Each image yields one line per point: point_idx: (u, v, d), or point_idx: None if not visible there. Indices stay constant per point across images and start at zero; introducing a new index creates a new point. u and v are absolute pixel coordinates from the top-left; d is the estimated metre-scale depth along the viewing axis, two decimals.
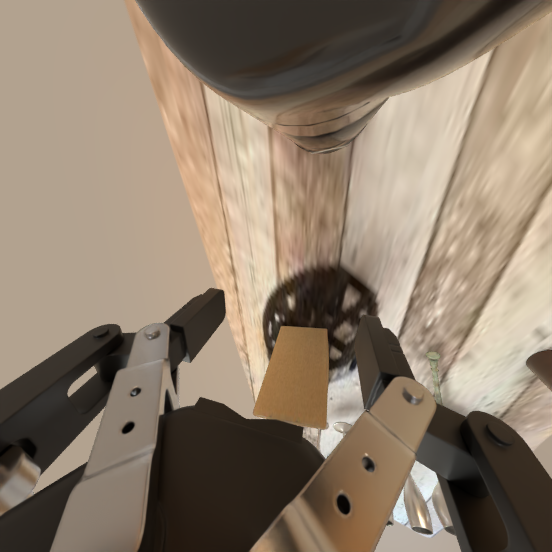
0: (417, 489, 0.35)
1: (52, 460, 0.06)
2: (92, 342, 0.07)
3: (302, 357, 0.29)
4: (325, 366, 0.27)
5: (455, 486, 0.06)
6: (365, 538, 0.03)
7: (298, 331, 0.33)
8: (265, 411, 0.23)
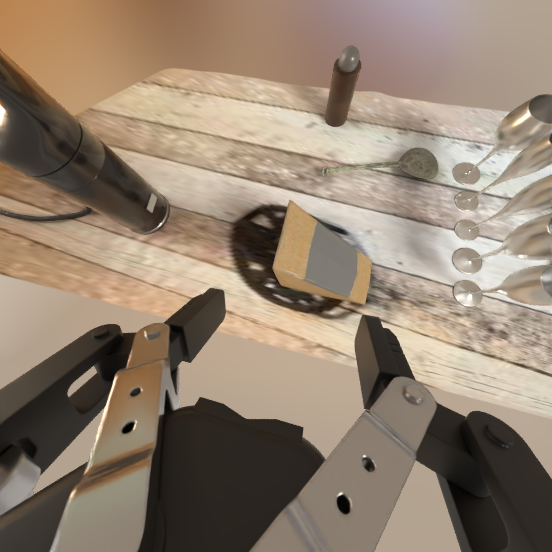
0: (510, 163, 0.28)
1: (52, 460, 0.06)
2: (91, 342, 0.07)
3: None
4: None
5: (455, 486, 0.06)
6: (365, 538, 0.03)
7: None
8: None
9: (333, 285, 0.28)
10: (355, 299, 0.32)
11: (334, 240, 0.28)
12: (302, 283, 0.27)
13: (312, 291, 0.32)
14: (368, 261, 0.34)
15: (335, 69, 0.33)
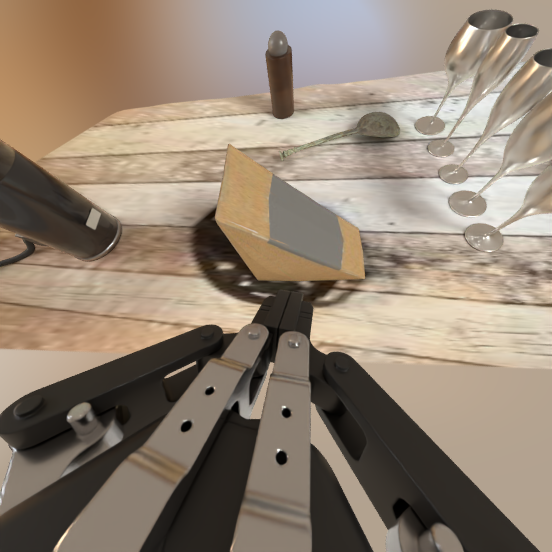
0: (473, 83, 0.25)
1: (138, 429, 0.07)
2: (197, 339, 0.08)
3: None
4: None
5: (332, 417, 0.07)
6: (302, 465, 0.04)
7: None
8: None
9: (314, 252, 0.21)
10: (350, 271, 0.25)
11: (302, 199, 0.23)
12: (273, 254, 0.21)
13: (295, 273, 0.26)
14: (354, 228, 0.29)
15: (267, 56, 0.33)
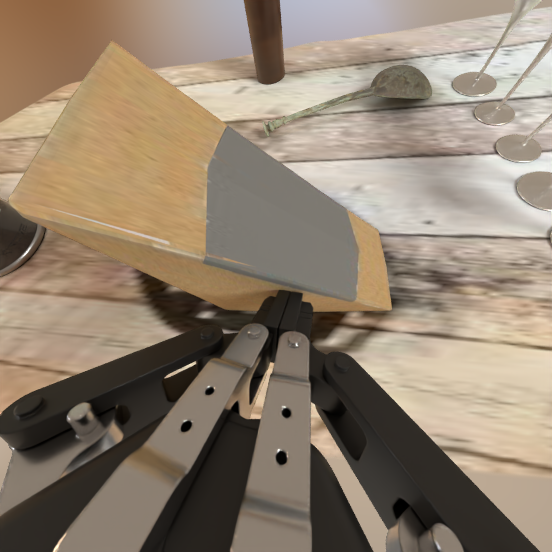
0: None
1: (138, 429, 0.07)
2: (197, 339, 0.08)
3: None
4: None
5: (332, 417, 0.07)
6: (302, 465, 0.04)
7: None
8: None
9: (310, 275, 0.11)
10: (371, 302, 0.15)
11: (288, 178, 0.13)
12: (229, 282, 0.11)
13: None
14: (372, 230, 0.19)
15: None
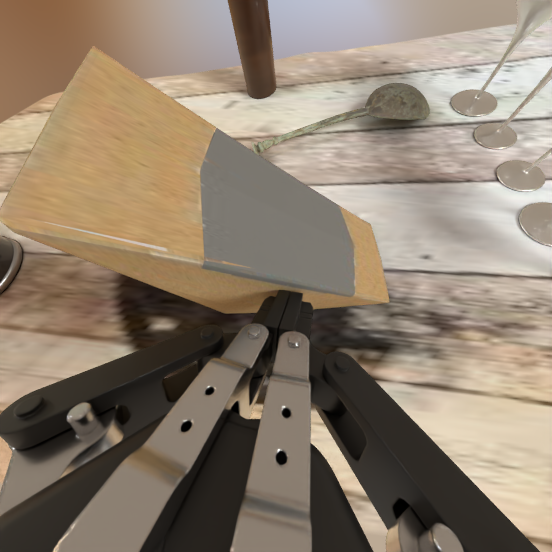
0: None
1: (138, 429, 0.07)
2: (197, 339, 0.08)
3: None
4: None
5: (332, 417, 0.07)
6: (302, 465, 0.04)
7: None
8: None
9: (308, 273, 0.11)
10: (369, 296, 0.15)
11: (280, 177, 0.13)
12: (228, 286, 0.10)
13: None
14: (365, 224, 0.19)
15: None
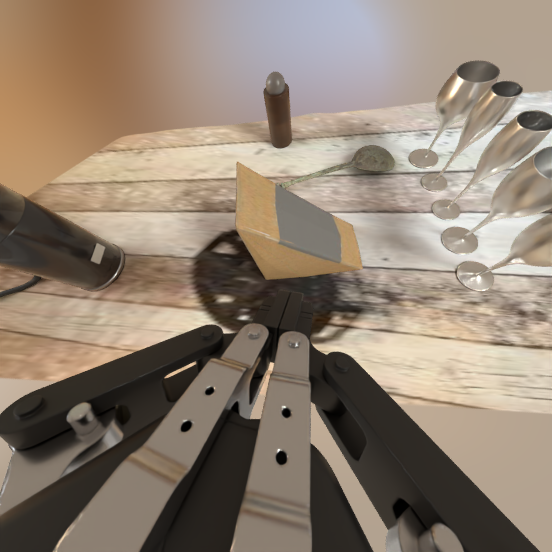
0: None
1: (138, 429, 0.07)
2: (197, 339, 0.08)
3: None
4: None
5: (332, 417, 0.07)
6: (302, 465, 0.04)
7: None
8: None
9: (317, 248, 0.24)
10: (349, 263, 0.28)
11: (302, 203, 0.26)
12: (282, 253, 0.23)
13: (300, 270, 0.28)
14: (348, 225, 0.32)
15: (265, 95, 0.34)
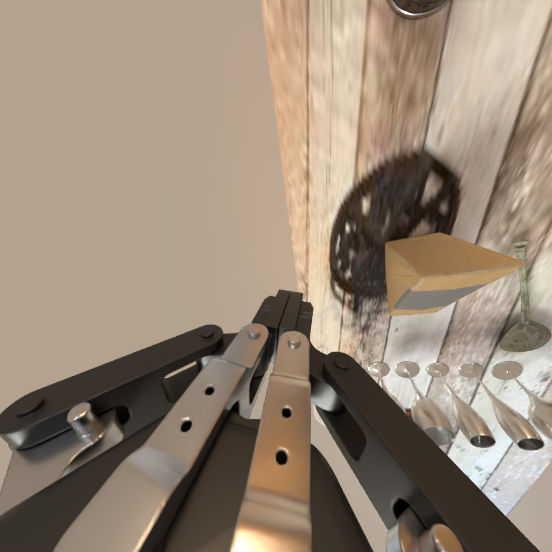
0: (511, 408, 0.32)
1: (138, 429, 0.07)
2: (197, 339, 0.08)
3: (435, 247, 0.27)
4: (470, 243, 0.25)
5: (332, 417, 0.07)
6: (302, 465, 0.04)
7: (409, 239, 0.32)
8: (436, 272, 0.21)
9: (406, 302, 0.30)
10: (393, 311, 0.36)
11: (461, 295, 0.27)
12: (402, 281, 0.28)
13: (390, 278, 0.33)
14: (436, 310, 0.36)
15: None
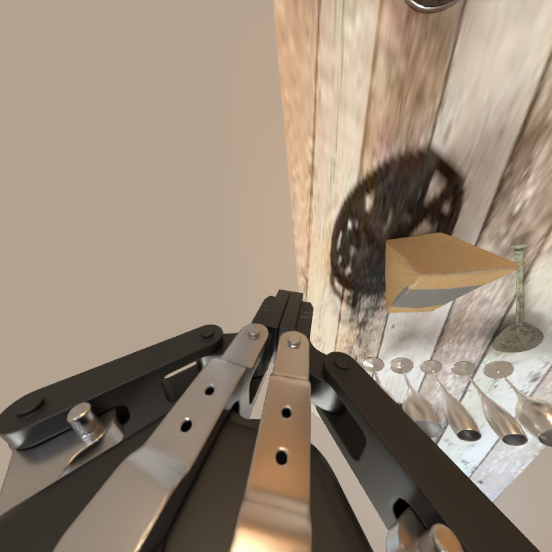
0: (499, 405, 0.33)
1: (138, 429, 0.07)
2: (197, 339, 0.08)
3: (435, 246, 0.27)
4: (469, 244, 0.25)
5: (332, 417, 0.07)
6: (302, 465, 0.04)
7: (410, 238, 0.32)
8: (434, 271, 0.21)
9: (403, 300, 0.31)
10: (390, 308, 0.37)
11: (457, 295, 0.27)
12: (400, 279, 0.28)
13: (389, 276, 0.34)
14: (432, 309, 0.36)
15: None
